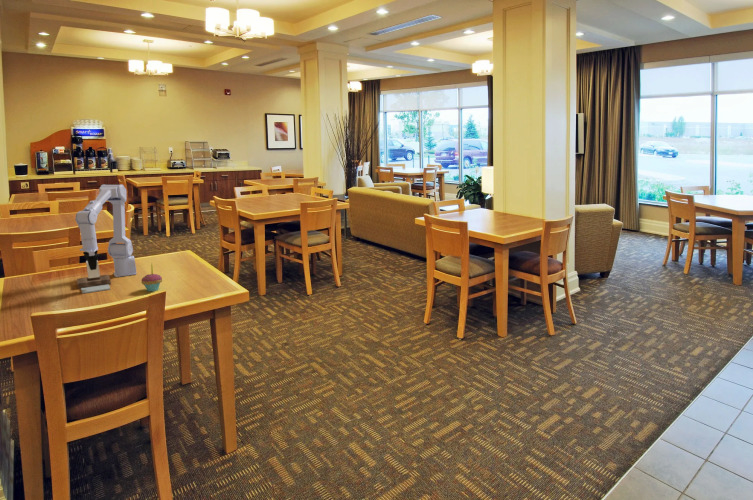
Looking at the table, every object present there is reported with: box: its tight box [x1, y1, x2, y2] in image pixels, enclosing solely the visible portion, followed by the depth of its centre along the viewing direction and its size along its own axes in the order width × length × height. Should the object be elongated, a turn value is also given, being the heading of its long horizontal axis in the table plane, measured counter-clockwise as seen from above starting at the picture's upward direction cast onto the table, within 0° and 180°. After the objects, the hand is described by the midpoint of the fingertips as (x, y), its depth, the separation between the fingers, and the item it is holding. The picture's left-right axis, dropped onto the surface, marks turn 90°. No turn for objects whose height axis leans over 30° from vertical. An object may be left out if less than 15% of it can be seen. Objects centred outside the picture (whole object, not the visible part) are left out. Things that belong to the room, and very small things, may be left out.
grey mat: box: [80, 284, 111, 294], centre depth 228 cm, size 11×7×1 cm, turn 122°
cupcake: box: [141, 263, 163, 292], centre depth 226 cm, size 9×8×12 cm
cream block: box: [85, 259, 101, 278], centre depth 226 cm, size 4×4×7 cm
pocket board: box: [76, 274, 112, 290], centre depth 236 cm, size 13×9×2 cm
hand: (92, 268), depth 226 cm, fingers closed on cream block, 4 cm apart
